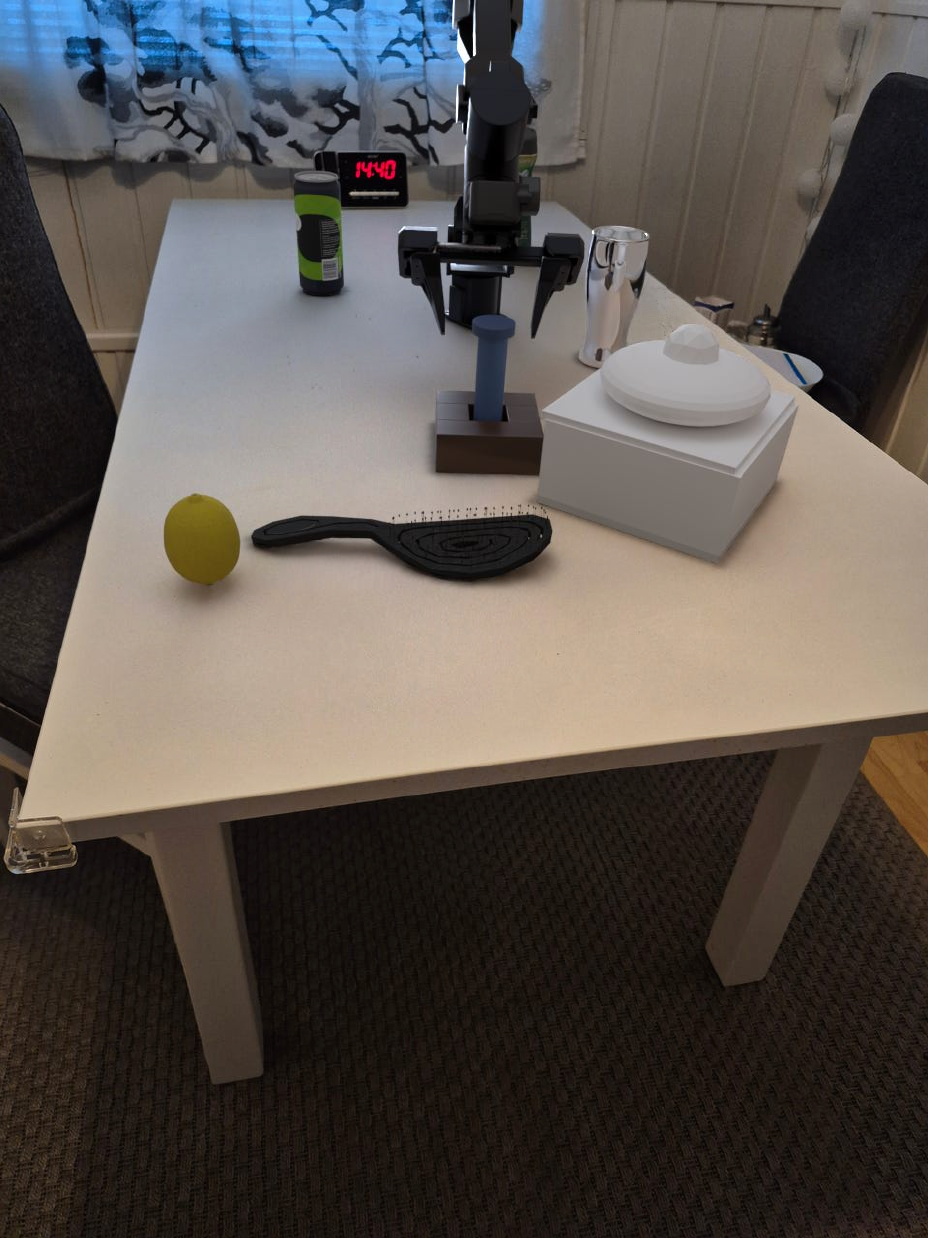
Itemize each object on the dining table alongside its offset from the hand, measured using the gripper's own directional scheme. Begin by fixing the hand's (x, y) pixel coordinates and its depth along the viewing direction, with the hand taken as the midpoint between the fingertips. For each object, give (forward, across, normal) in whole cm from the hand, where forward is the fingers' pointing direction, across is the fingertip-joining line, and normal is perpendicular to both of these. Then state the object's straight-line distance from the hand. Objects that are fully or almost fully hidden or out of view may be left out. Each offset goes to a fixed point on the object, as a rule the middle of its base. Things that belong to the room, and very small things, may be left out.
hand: (488, 335), depth 89 cm
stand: (+12, 0, +1) cm, 12 cm away
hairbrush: (+25, -8, -12) cm, 29 cm away
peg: (+12, 0, +1) cm, 12 cm away
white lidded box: (+17, +16, -4) cm, 24 cm away
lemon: (+29, -22, -16) cm, 40 cm away
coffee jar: (-39, +5, +53) cm, 66 cm away
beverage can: (-22, -22, +36) cm, 47 cm away
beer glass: (-6, +16, +20) cm, 26 cm away
